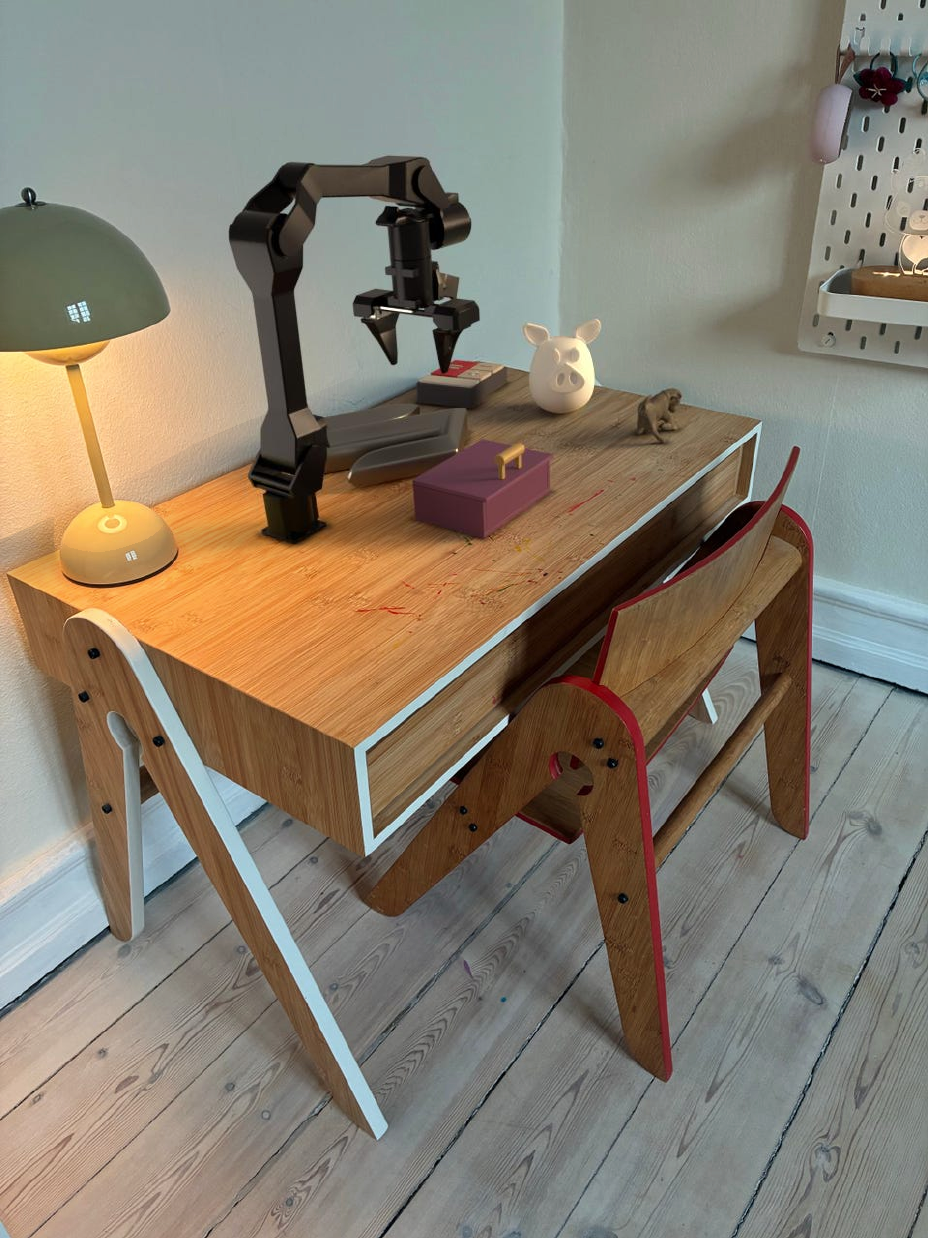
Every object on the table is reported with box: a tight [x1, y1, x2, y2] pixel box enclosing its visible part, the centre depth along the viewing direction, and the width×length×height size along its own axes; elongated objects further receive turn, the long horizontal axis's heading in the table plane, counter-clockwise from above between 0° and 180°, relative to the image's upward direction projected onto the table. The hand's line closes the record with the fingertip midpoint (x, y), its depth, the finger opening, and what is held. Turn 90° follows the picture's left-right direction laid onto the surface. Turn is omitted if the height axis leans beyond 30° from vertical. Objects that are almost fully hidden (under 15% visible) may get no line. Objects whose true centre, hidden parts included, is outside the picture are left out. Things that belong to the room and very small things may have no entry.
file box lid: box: [411, 438, 554, 503], centre depth 130 cm, size 12×16×4 cm
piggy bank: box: [522, 318, 602, 414], centre depth 160 cm, size 12×12×15 cm
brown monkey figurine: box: [635, 387, 683, 444], centre depth 152 cm, size 12×6×7 cm, turn 145°
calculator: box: [416, 359, 508, 410], centre depth 173 cm, size 11×4×15 cm
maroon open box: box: [412, 460, 551, 539], centre depth 133 cm, size 11×16×5 cm
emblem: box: [323, 403, 469, 488], centre depth 150 cm, size 28×5×28 cm
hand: (419, 368), depth 141 cm, fingers open, 9 cm apart
